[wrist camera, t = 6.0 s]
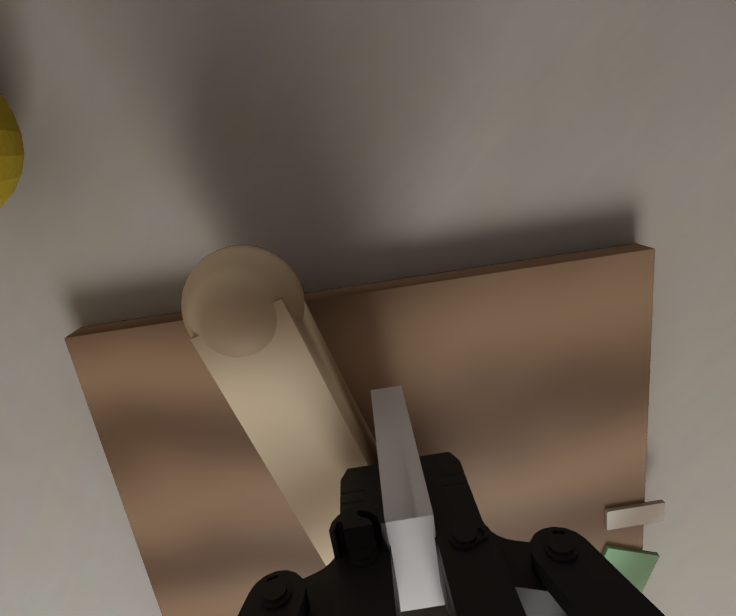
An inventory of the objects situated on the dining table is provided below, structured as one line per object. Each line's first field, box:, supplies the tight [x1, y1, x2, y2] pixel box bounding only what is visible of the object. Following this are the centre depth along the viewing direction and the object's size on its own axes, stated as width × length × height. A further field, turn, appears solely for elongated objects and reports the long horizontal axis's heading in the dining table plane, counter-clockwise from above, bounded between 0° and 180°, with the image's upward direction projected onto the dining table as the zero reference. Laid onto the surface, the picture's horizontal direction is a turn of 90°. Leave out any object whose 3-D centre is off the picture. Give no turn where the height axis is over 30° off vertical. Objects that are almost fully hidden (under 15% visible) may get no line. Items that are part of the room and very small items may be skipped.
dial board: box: [64, 243, 665, 616], centre depth 22 cm, size 24×23×1 cm
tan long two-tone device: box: [181, 245, 447, 616], centre depth 18 cm, size 27×5×5 cm, turn 24°
